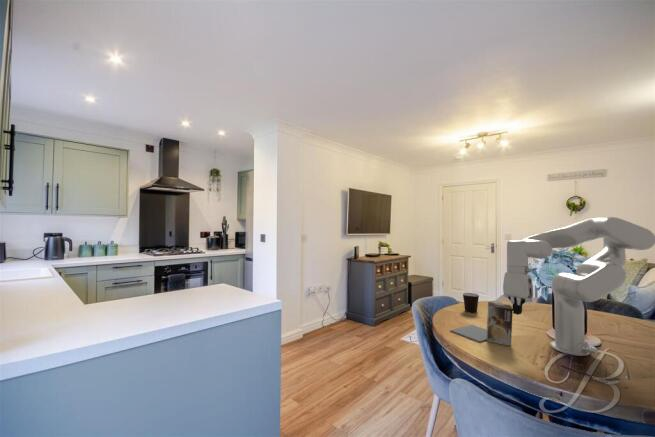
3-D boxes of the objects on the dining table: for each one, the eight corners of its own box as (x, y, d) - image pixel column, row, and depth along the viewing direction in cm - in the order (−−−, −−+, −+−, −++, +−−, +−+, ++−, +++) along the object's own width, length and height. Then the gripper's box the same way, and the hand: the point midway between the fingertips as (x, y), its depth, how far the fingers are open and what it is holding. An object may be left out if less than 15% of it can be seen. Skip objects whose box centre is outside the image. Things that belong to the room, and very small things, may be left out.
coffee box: (509, 340, 132) (511, 304, 131) (511, 346, 126) (513, 309, 125) (485, 335, 136) (488, 301, 135) (486, 341, 130) (489, 305, 129)
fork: (562, 365, 110) (562, 360, 110) (620, 386, 96) (620, 380, 96) (559, 367, 108) (559, 362, 108) (617, 389, 94) (617, 382, 94)
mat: (501, 335, 137) (501, 334, 137) (479, 342, 130) (479, 341, 130) (471, 325, 151) (471, 324, 151) (450, 331, 143) (450, 330, 143)
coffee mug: (467, 308, 181) (466, 291, 181) (481, 311, 174) (481, 294, 174) (457, 312, 173) (457, 295, 174) (472, 315, 167) (472, 297, 167)
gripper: (541, 271, 119) (542, 317, 119) (504, 266, 132) (504, 307, 132) (532, 273, 115) (532, 320, 115) (494, 267, 128) (494, 310, 128)
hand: (517, 313), depth 123 cm, fingers closed
